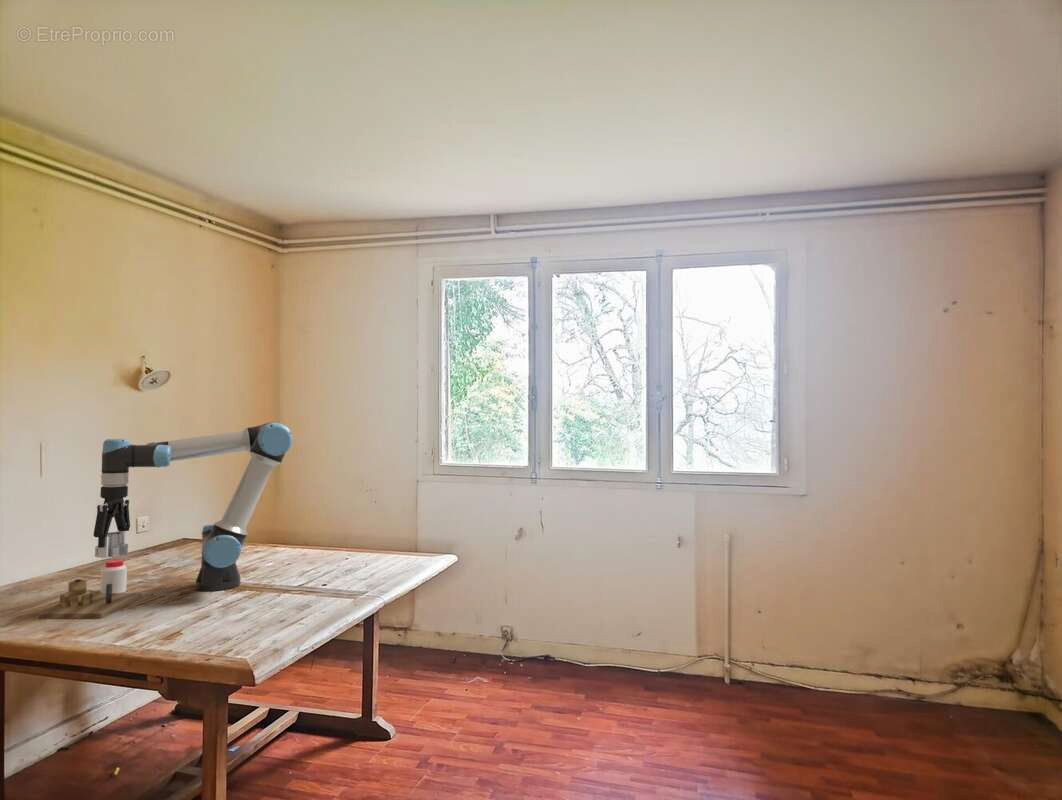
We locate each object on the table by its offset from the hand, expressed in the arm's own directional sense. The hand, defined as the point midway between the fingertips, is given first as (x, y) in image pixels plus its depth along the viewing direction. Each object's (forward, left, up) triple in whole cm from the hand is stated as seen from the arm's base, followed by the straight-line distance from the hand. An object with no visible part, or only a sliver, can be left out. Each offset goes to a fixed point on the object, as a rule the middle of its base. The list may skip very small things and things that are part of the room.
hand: (111, 553), depth 203 cm
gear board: (+5, 0, -18) cm, 18 cm away
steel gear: (0, 0, 0) cm, 0 cm away
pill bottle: (+9, -18, -18) cm, 27 cm away
